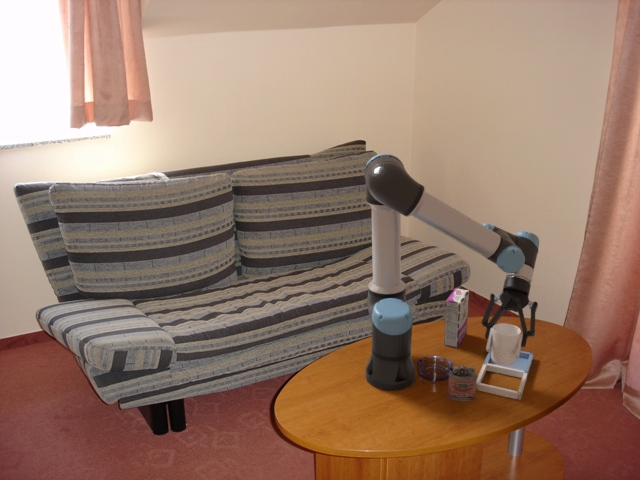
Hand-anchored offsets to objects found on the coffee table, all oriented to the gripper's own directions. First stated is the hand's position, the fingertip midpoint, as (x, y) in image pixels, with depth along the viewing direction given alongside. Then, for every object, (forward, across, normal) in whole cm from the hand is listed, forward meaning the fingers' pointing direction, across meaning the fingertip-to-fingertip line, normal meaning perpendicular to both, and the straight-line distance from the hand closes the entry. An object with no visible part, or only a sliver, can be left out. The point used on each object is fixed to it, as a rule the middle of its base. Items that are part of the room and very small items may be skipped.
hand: (502, 353), depth 184 cm
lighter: (+15, +9, -3) cm, 17 cm away
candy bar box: (-9, +19, -26) cm, 33 cm away
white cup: (0, 0, -5) cm, 5 cm away
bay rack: (+2, 0, -15) cm, 15 cm away
